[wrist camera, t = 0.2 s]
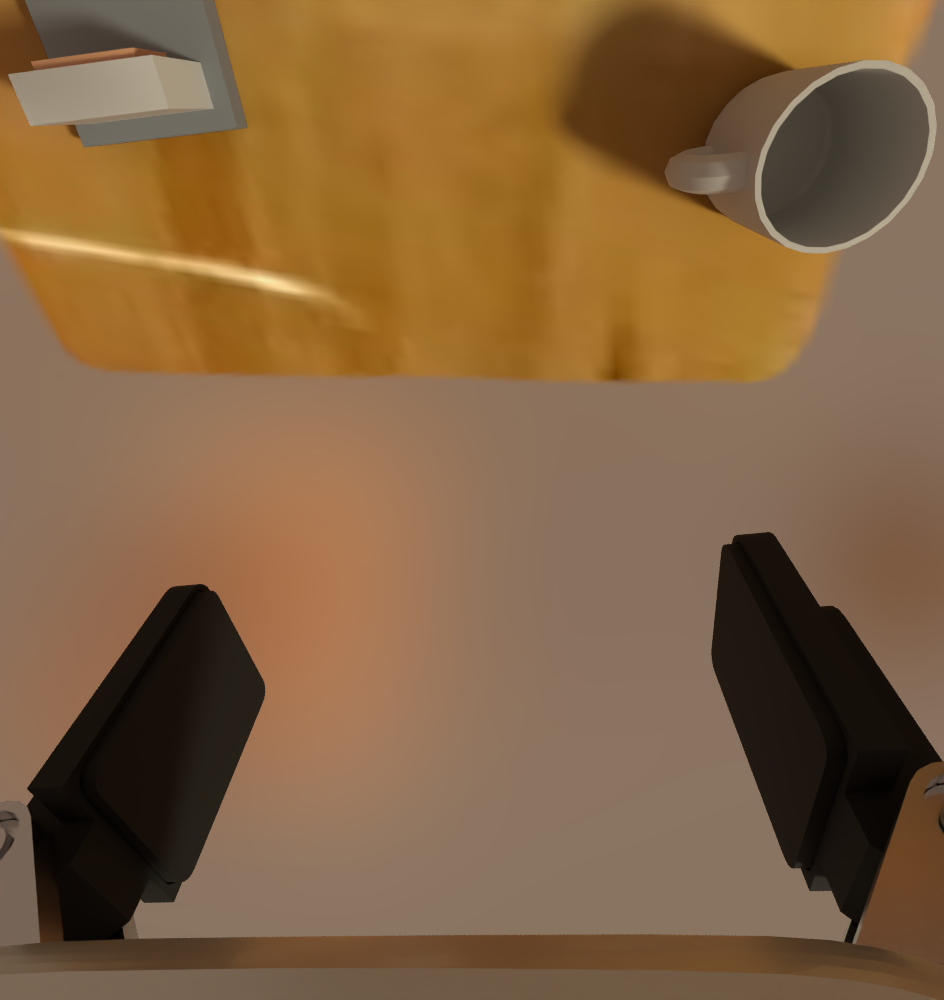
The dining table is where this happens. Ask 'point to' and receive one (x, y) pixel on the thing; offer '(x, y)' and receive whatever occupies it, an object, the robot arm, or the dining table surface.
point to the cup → (815, 153)
